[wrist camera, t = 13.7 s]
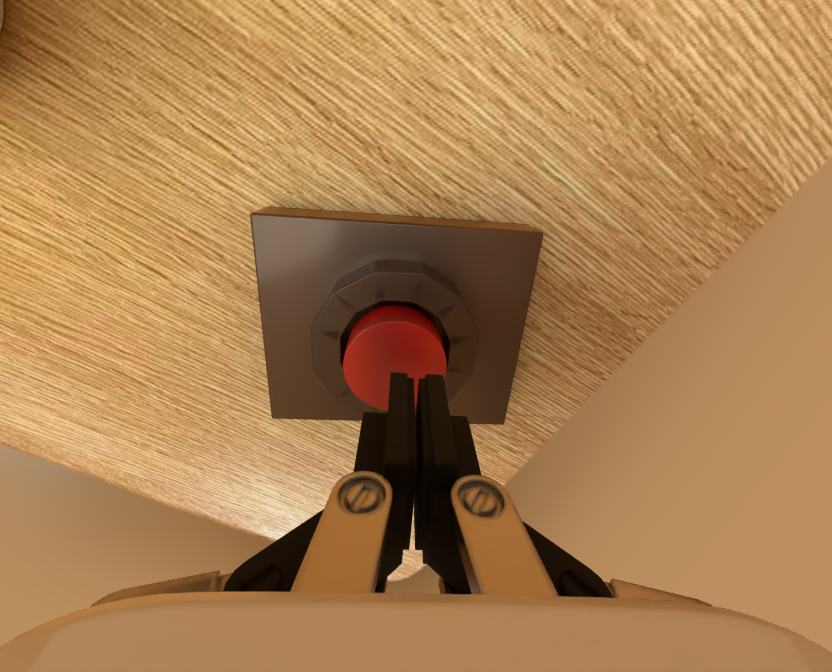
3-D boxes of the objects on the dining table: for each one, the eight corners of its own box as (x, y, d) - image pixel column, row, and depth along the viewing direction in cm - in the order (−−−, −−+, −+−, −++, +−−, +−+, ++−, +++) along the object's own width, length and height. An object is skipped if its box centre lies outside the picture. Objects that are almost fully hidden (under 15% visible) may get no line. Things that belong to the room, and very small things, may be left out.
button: (446, 306, 16) (452, 323, 14) (437, 389, 17) (441, 412, 16) (347, 301, 15) (342, 318, 14) (348, 386, 17) (343, 410, 15)
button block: (527, 224, 18) (561, 240, 14) (494, 401, 22) (513, 448, 19) (266, 206, 17) (231, 219, 13) (282, 394, 21) (259, 443, 18)
